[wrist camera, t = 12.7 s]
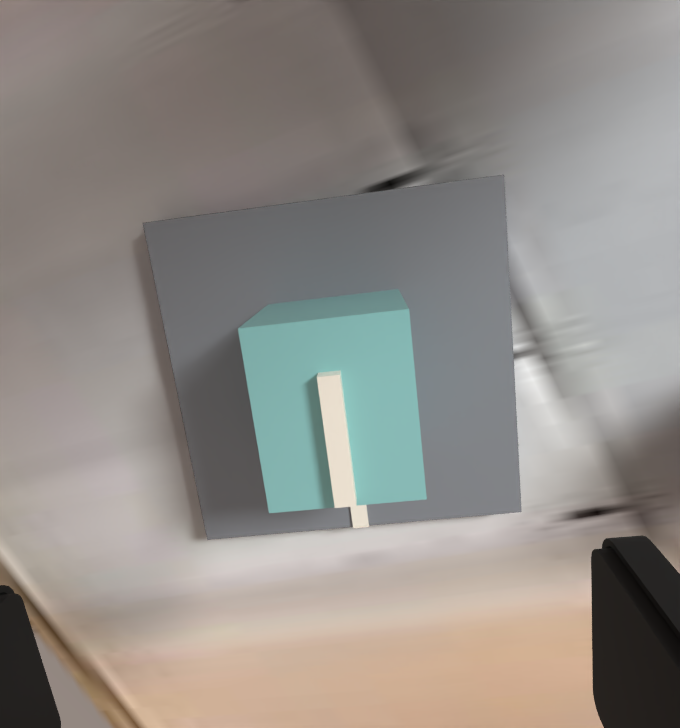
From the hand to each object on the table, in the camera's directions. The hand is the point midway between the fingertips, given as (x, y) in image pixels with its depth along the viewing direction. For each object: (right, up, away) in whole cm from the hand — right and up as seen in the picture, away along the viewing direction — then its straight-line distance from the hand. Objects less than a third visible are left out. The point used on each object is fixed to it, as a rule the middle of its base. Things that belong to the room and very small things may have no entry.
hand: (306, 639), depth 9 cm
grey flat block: (+1, +4, +18) cm, 19 cm away
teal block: (+1, +4, +17) cm, 18 cm away
